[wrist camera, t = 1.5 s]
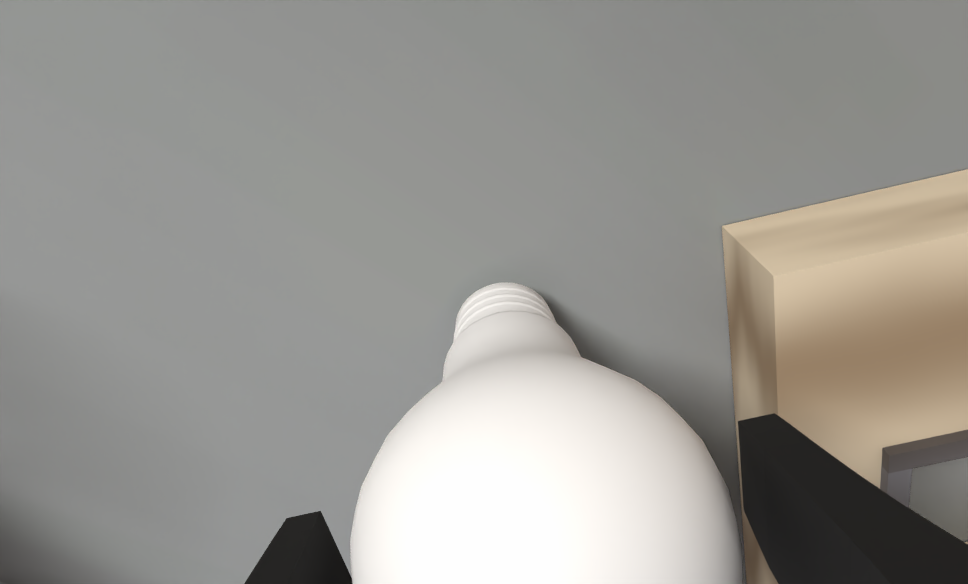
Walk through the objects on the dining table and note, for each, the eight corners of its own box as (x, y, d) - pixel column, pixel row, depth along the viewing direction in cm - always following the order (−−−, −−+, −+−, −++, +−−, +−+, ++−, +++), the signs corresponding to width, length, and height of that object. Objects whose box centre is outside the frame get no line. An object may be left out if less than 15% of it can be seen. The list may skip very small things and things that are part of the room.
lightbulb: (660, 303, 18) (918, 711, 8) (503, 439, 20) (565, 907, 10) (499, 151, 16) (591, 461, 6) (338, 319, 18) (217, 765, 8)
